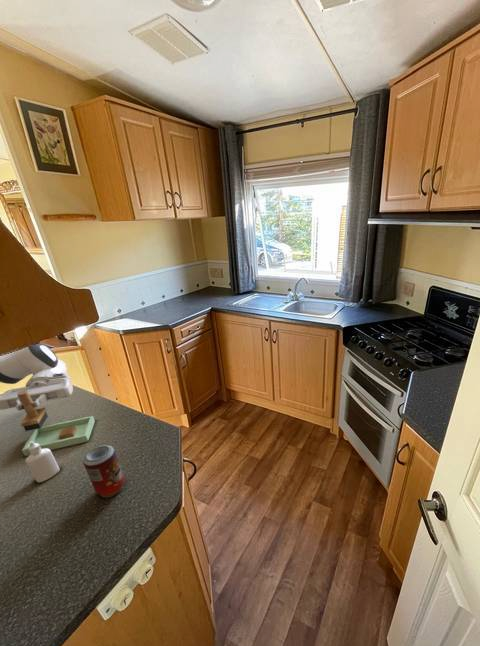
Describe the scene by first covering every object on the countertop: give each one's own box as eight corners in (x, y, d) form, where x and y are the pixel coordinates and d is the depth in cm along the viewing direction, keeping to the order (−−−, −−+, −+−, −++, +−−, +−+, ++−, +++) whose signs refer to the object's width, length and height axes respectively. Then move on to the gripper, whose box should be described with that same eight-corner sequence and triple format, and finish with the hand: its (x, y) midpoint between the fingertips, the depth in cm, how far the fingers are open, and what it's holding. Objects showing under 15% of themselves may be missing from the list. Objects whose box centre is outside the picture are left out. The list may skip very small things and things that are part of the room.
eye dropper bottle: (37, 474, 83) (20, 441, 78) (60, 466, 85) (45, 433, 80) (34, 484, 79) (16, 451, 74) (59, 476, 81) (42, 443, 76)
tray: (24, 456, 90) (21, 450, 89) (38, 433, 100) (35, 428, 99) (88, 441, 95) (85, 435, 94) (95, 421, 105) (92, 415, 104)
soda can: (120, 497, 74) (106, 461, 69) (92, 501, 73) (75, 464, 68) (130, 476, 80) (117, 441, 75) (103, 479, 80) (89, 444, 75)
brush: (24, 432, 89) (8, 400, 84) (33, 418, 96) (18, 388, 91) (41, 428, 90) (25, 396, 86) (48, 415, 97) (35, 385, 92)
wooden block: (60, 439, 95) (58, 436, 95) (63, 432, 99) (62, 428, 98) (73, 436, 96) (72, 432, 96) (76, 429, 100) (75, 425, 99)
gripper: (3, 384, 97) (-19, 405, 85) (72, 372, 103) (60, 390, 91) (11, 400, 100) (-9, 423, 88) (78, 387, 105) (67, 407, 93)
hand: (27, 406), depth 89 cm, fingers closed on brush, 2 cm apart
